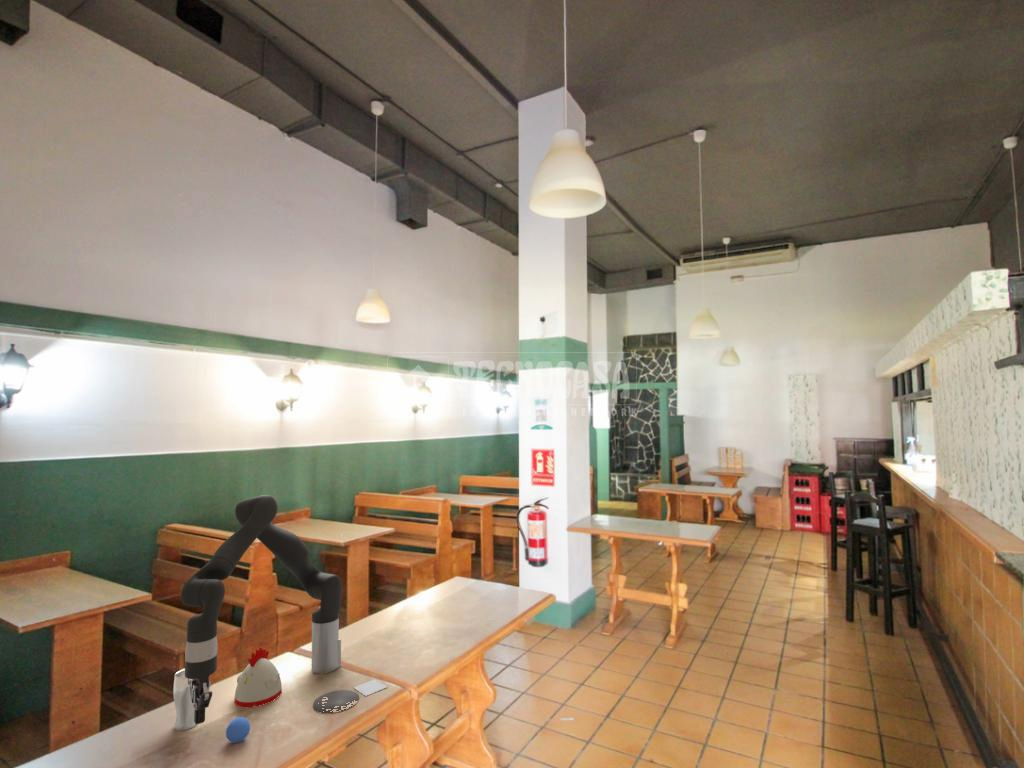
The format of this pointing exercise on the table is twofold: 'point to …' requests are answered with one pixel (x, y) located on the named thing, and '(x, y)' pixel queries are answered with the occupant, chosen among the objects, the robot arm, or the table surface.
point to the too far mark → (370, 687)
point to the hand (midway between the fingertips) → (199, 722)
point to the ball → (238, 730)
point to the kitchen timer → (258, 681)
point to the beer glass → (183, 702)
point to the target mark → (335, 700)
